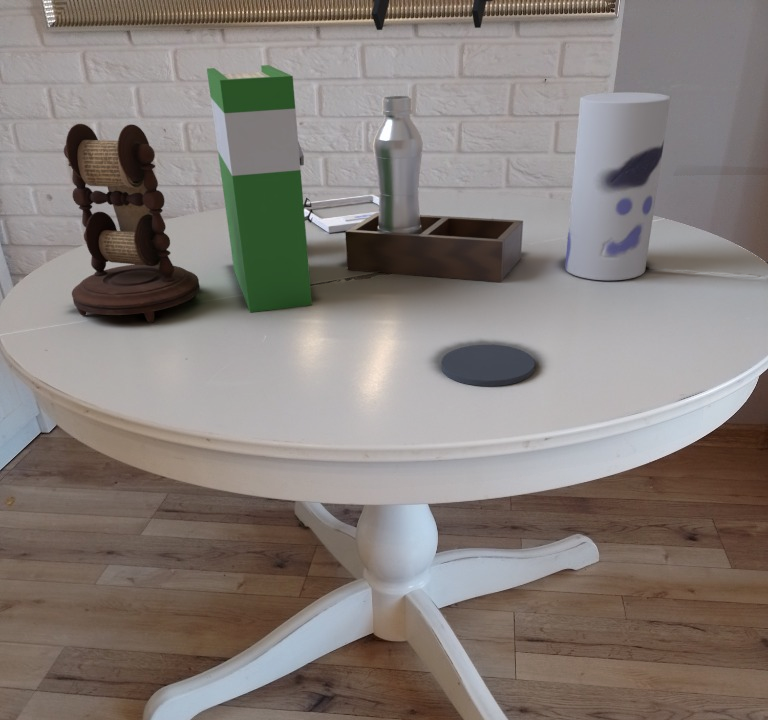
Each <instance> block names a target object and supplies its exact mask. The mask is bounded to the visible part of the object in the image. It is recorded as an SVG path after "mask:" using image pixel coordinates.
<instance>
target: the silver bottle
mask: <svg viewBox="0 0 768 720" xmlns="http://www.w3.org/2000/svg"><path fill="white" fill-rule="evenodd" d="M381 100H382V102H381V104H382V109H381V115H382V116H384V118H383V121H382V123H381V124H380V126H379V128H378V129H377V132H376V134H375V135H374V138H373V145H372V150H373V155H374V163H375V169H376V175H377V188H378V197H379V205H378V212H379V220H378V225H379V226H378V229H377V232H392V233H408V234H421V233H423V232H422V227H421V225H420V215H421V214H420V213H421V212H420V200H419V197H420V196H419V193H420V191H419V187H420V174H421V173H420V172H421V164H422V156H423V144H424V143H423V139H422V135H421V133H420V131H419V129H418V127H417V126H416V125H415V123H414V122H413V121H412V119H411V114H413V109H412V97H411V96H409V95H392V96H391V95H390V96H383V97H382V99H381Z"/></svg>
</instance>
